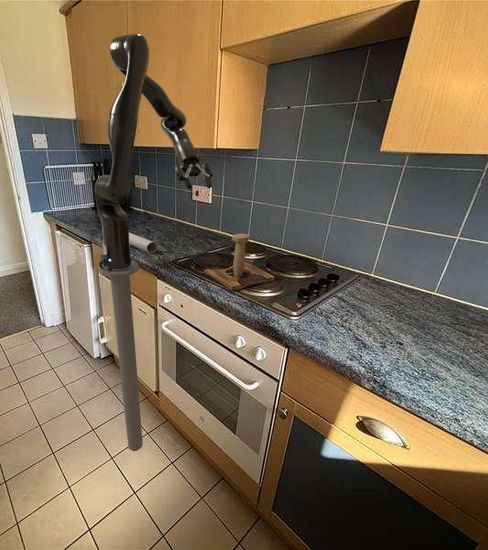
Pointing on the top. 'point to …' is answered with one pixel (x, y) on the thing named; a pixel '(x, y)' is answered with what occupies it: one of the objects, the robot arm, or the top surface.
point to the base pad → (233, 281)
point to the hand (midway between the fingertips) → (200, 187)
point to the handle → (239, 253)
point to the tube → (142, 243)
